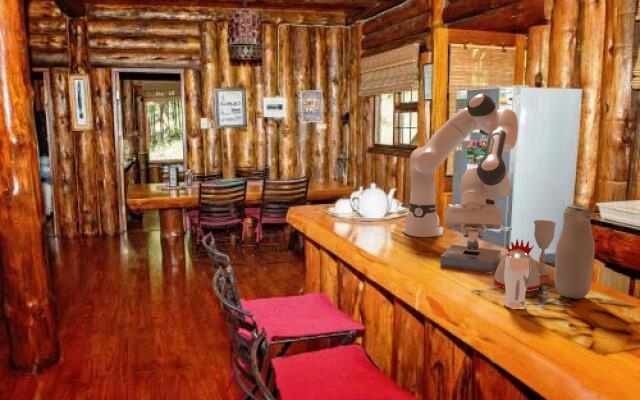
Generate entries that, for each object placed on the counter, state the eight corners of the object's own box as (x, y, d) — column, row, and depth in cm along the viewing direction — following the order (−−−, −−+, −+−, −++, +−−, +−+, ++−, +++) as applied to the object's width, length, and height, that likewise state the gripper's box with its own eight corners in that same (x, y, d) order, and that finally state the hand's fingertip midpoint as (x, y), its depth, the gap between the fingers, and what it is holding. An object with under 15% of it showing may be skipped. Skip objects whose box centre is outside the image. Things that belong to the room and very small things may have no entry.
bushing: (467, 246, 197) (468, 225, 195) (480, 247, 195) (482, 226, 193) (464, 249, 192) (465, 227, 191) (478, 250, 190) (479, 228, 189)
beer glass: (497, 302, 154) (500, 252, 152) (520, 301, 155) (524, 251, 152) (508, 311, 147) (511, 258, 145) (532, 310, 148) (535, 258, 146)
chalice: (552, 271, 185) (556, 221, 182) (553, 277, 178) (557, 224, 176) (529, 269, 187) (533, 219, 184) (530, 275, 181) (534, 223, 178)
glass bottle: (594, 297, 159) (602, 205, 155) (582, 305, 152) (591, 209, 147) (559, 289, 166) (567, 201, 162) (547, 297, 159) (554, 205, 154)
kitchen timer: (535, 295, 161) (538, 246, 159) (489, 287, 168) (491, 241, 166) (543, 283, 173) (546, 238, 170) (500, 276, 180) (502, 232, 178)
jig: (452, 254, 206) (452, 244, 206) (500, 260, 198) (501, 250, 198) (440, 266, 191) (440, 255, 190) (492, 273, 182) (493, 262, 182)
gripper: (444, 199, 200) (444, 230, 192) (501, 201, 195) (503, 233, 187) (444, 209, 205) (443, 239, 197) (500, 211, 200) (501, 242, 192)
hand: (473, 236), depth 192 cm, fingers closed on bushing, 4 cm apart
